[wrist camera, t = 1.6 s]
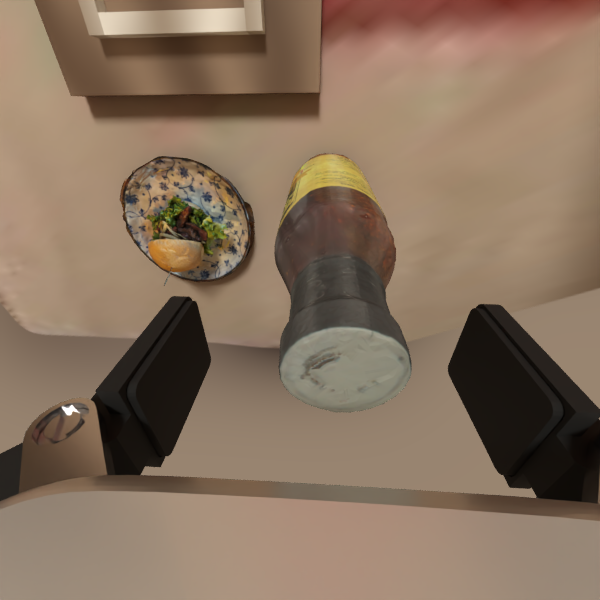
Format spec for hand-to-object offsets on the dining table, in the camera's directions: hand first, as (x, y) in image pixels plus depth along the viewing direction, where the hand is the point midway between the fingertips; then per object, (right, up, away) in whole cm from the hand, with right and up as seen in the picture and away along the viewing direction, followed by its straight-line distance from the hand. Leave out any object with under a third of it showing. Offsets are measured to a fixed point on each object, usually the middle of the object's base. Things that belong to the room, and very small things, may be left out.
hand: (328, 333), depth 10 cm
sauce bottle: (+2, +11, +15) cm, 18 cm away
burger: (-11, +9, +17) cm, 22 cm away
